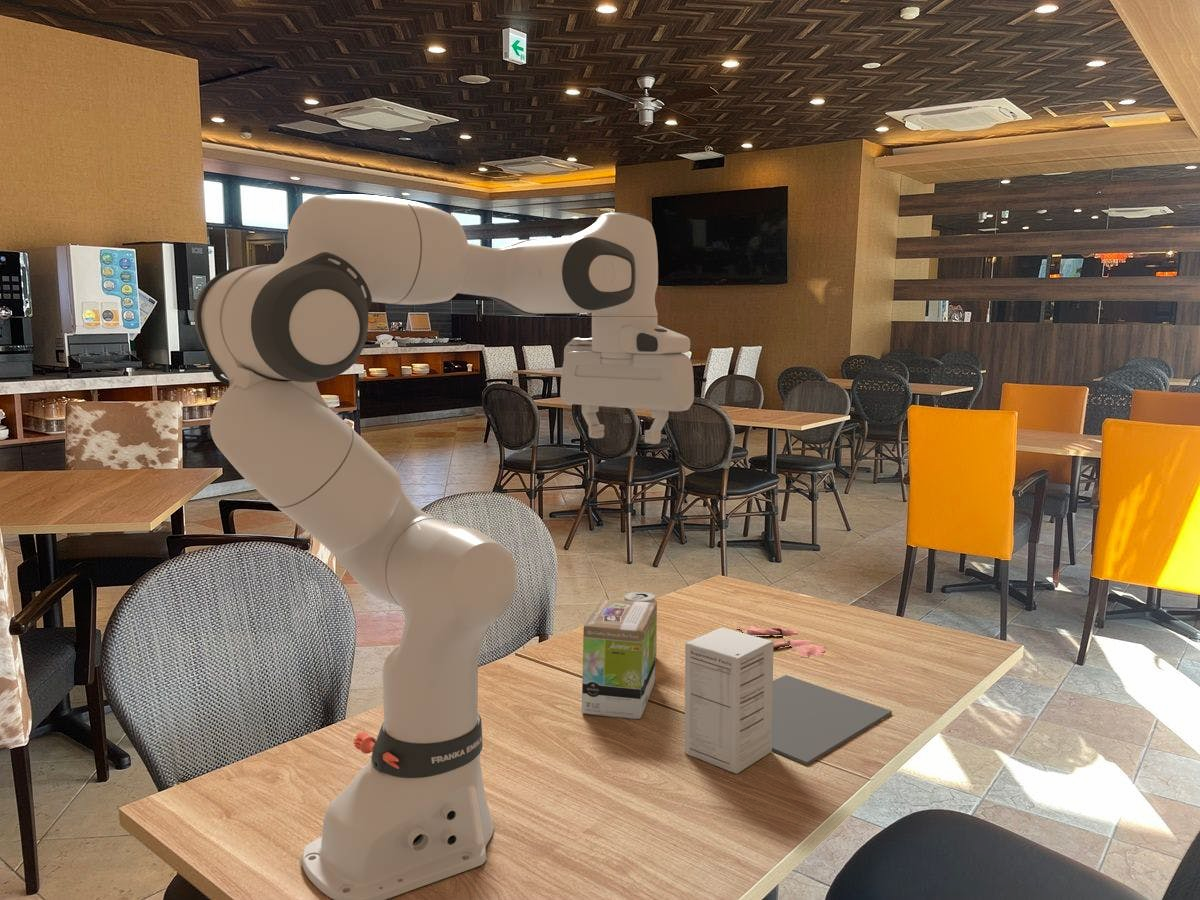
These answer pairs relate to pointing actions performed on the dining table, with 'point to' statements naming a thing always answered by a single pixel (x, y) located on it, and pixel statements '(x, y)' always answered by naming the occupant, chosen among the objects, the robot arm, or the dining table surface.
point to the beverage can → (642, 598)
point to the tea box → (619, 658)
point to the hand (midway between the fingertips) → (623, 440)
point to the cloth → (802, 650)
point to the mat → (816, 719)
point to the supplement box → (728, 698)
